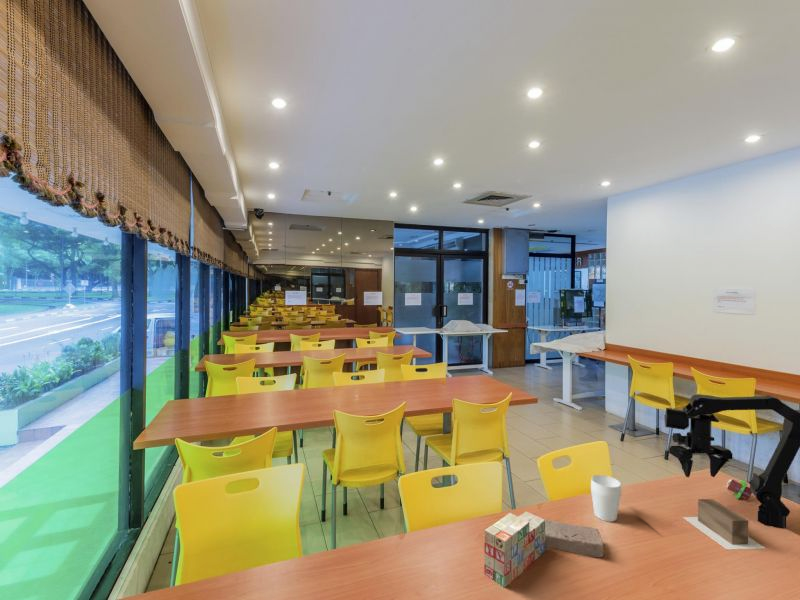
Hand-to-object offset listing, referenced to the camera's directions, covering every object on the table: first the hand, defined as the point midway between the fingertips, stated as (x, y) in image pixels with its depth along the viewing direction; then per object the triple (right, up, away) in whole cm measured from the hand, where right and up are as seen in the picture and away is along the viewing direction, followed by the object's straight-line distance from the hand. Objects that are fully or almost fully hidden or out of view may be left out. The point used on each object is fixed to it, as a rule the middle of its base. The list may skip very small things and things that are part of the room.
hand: (699, 476), depth 133 cm
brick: (-53, -12, -19) cm, 58 cm away
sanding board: (-4, -12, -14) cm, 19 cm away
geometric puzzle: (+22, -13, +9) cm, 27 cm away
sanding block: (-4, -11, -14) cm, 18 cm away
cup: (-35, -12, -4) cm, 37 cm away
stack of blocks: (-72, -12, -27) cm, 78 cm away
